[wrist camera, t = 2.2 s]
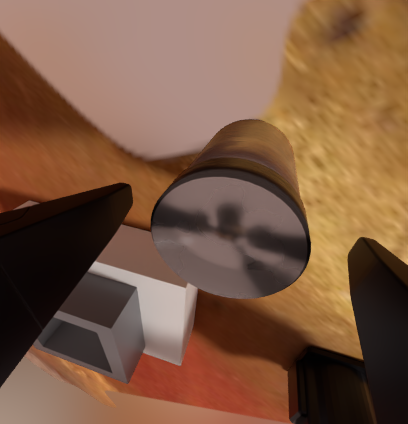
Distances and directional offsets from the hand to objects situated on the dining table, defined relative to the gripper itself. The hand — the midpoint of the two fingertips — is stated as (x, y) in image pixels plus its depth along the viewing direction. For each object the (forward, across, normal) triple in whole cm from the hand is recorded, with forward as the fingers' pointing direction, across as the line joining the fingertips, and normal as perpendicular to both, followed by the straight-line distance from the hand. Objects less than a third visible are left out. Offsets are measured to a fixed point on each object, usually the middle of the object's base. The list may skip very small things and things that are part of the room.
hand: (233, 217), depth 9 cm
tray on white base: (+5, +10, +13) cm, 17 cm away
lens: (+5, 0, 0) cm, 5 cm away
